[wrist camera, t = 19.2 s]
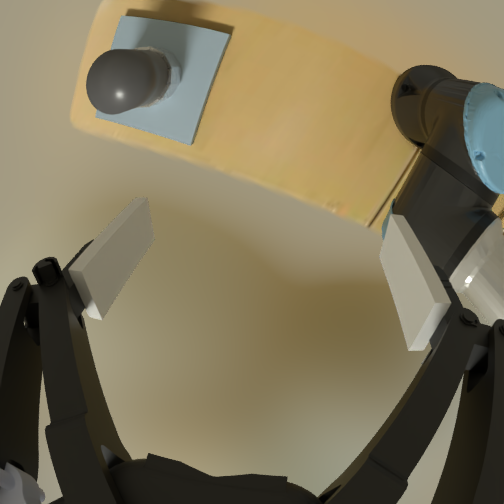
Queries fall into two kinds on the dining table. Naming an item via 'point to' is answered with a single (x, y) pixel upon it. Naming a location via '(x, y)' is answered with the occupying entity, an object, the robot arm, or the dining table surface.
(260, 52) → the dining table surface
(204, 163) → the dining table surface
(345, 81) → the dining table surface
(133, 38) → the board
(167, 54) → the pale grey faceted ring
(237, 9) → the dining table surface
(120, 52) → the dome-topped grey cylinder
